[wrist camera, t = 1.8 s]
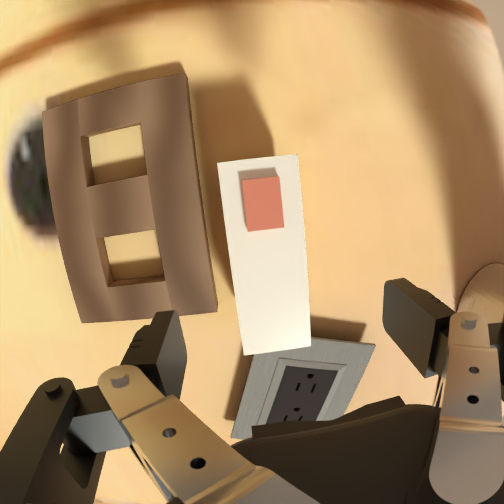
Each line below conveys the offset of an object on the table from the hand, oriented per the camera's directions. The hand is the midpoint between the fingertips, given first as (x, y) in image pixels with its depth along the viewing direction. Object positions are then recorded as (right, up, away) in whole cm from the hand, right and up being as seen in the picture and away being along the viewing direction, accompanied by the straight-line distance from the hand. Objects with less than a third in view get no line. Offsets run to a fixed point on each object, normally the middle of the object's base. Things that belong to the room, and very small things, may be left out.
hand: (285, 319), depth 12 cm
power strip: (-1, +3, +13) cm, 14 cm away
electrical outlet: (+3, -10, +18) cm, 21 cm away
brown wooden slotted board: (-11, +6, +12) cm, 17 cm away
